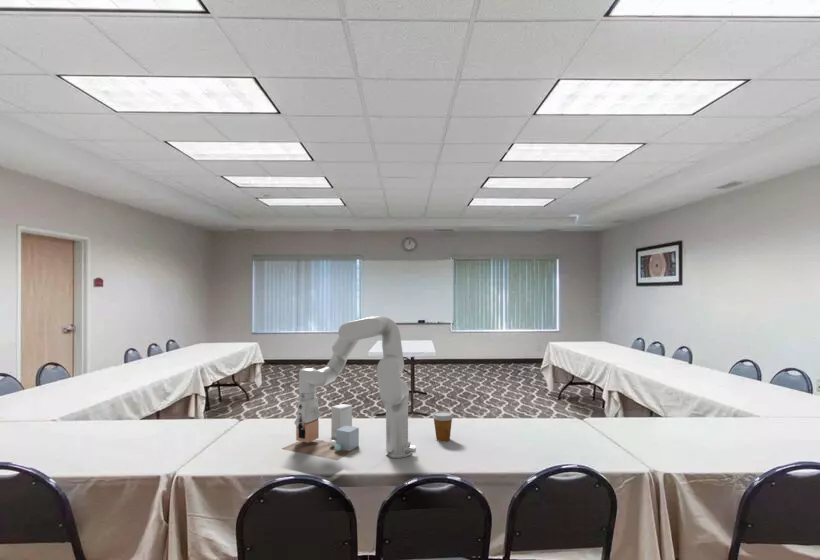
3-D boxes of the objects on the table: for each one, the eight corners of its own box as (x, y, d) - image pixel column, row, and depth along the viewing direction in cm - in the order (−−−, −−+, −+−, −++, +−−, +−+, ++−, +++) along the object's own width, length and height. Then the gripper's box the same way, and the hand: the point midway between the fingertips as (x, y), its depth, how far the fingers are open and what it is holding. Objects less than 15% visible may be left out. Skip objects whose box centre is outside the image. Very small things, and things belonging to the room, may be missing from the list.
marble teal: (342, 444, 178) (336, 442, 177) (341, 451, 176) (334, 450, 176) (340, 445, 180) (334, 444, 180) (339, 452, 179) (332, 451, 178)
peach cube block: (318, 437, 191) (318, 420, 191) (308, 442, 185) (308, 424, 185) (306, 435, 194) (306, 418, 194) (296, 440, 188) (296, 422, 188)
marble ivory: (332, 437, 185) (327, 442, 183) (336, 439, 183) (330, 444, 181) (335, 442, 186) (330, 447, 184) (338, 444, 184) (333, 449, 182)
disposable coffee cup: (453, 436, 201) (452, 411, 202) (453, 443, 192) (452, 416, 192) (433, 435, 202) (433, 410, 203) (432, 442, 192) (432, 416, 193)
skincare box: (339, 442, 194) (339, 408, 194) (330, 439, 198) (330, 406, 198) (352, 437, 200) (352, 404, 201) (343, 435, 204) (343, 403, 205)
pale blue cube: (358, 446, 184) (358, 427, 185) (349, 451, 178) (349, 432, 179) (345, 443, 188) (345, 425, 188) (336, 448, 181) (336, 429, 182)
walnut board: (359, 451, 182) (359, 447, 182) (337, 463, 168) (337, 460, 168) (306, 441, 196) (306, 437, 196) (281, 452, 182) (281, 448, 182)
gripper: (301, 400, 181) (300, 442, 180) (326, 392, 196) (326, 431, 195) (287, 399, 184) (287, 440, 183) (313, 391, 200) (313, 429, 199)
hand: (307, 435), depth 189 cm, fingers closed on peach cube block, 7 cm apart
